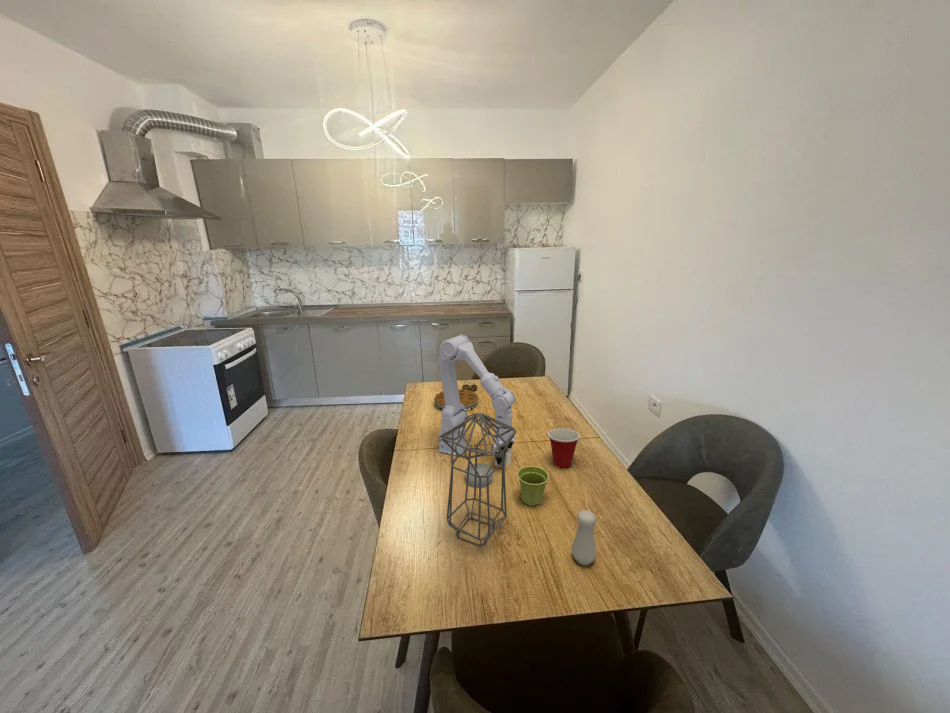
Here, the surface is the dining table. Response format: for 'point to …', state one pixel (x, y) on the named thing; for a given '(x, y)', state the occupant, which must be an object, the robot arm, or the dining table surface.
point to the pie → (465, 397)
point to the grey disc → (481, 470)
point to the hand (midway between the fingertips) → (503, 460)
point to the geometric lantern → (485, 420)
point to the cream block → (507, 458)
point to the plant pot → (532, 484)
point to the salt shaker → (585, 538)
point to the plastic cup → (563, 446)
